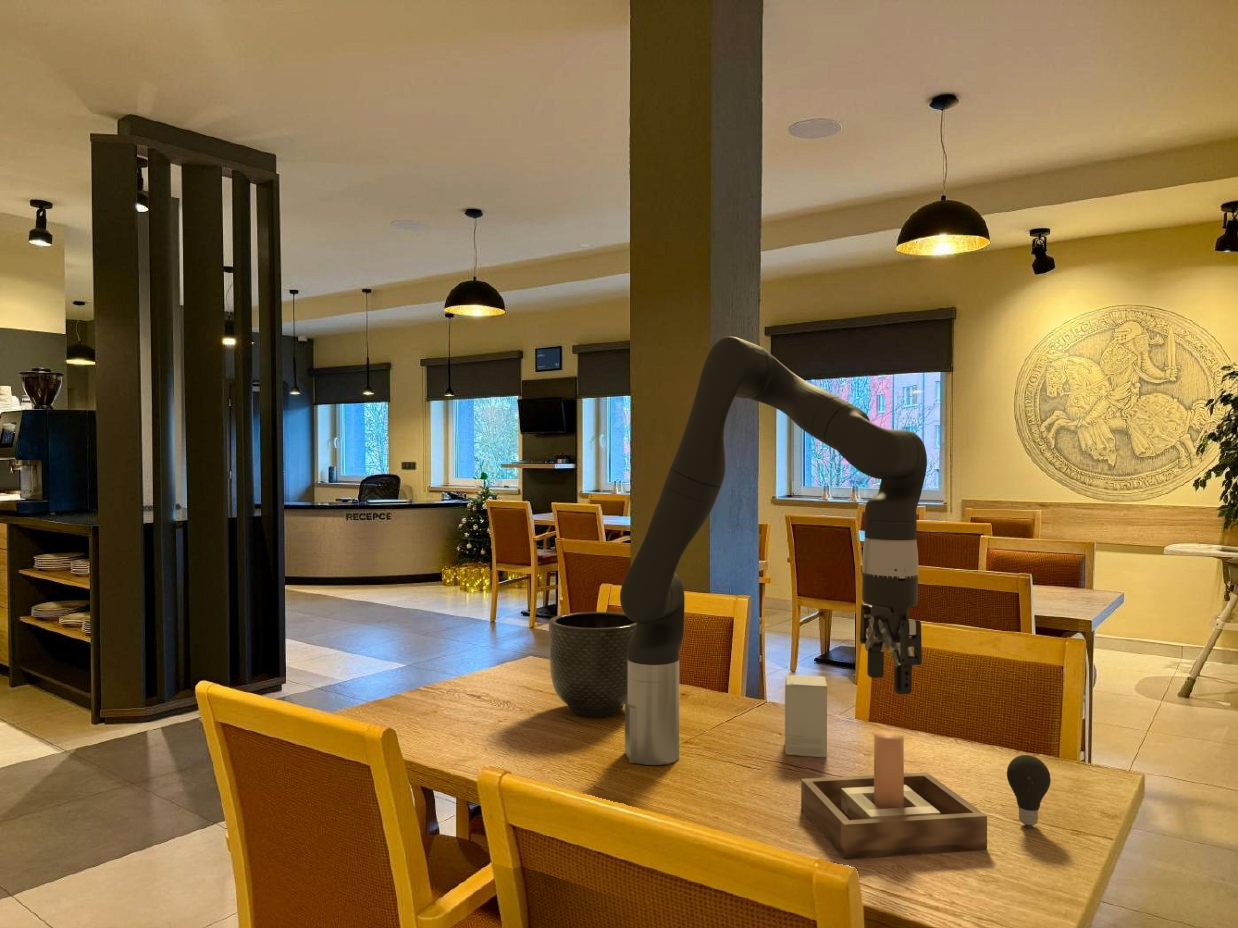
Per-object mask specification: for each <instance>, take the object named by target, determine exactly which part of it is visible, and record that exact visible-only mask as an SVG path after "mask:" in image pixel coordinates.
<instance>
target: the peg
mask: <svg viewBox="0 0 1238 928" xmlns="http://www.w3.org/2000/svg"><path fill="white" fill-rule="evenodd" d="M904 740H905V738H904V735H902V734H900V733H896V732H892V731H877V732H875V733H874V734H873V775H874V805H875V806H876V807H877V808H878V809H890V808H904V774H905V773H904V772H905V771H904V770H905V765H904V764H905V760H904V759H905V757H904V754H905V751H904V750H905V748H904Z"/></svg>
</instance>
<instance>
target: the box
mask: <svg viewBox="0 0 1238 928" xmlns="http://www.w3.org/2000/svg"><path fill="white" fill-rule="evenodd" d="M800 782H801V783H800V784H801V785H800V787H801V788H800V789H801V790H800V793H801V794H800V798H801V799H800V801H801V802H800V803H801V804H800V809H801V810H802V812H803V813H804V814H805V815H806V817H808V818H807V819H809V820H810V821H811V822H812V823H813V825H814V826H815V827H816V828H817V829H818V831H819V832H820V833H821V834H822V835H823V836H824V837H825V838H826V840H827V841H828V842H829V843H830V844H831V846H832V847H833V848H834V849H835V850H836V851H837V852H838V854H840V856H841V857H842V858H843V859H844V860H850V859H851V860H853V859H867V858H882V857H883V858H884V857H898V856H911V855H928V854H941V853H958V852H959V853H960V852H969V851H971V852H972V851H973V852H974V851H986V850H988V815H986V814H985V813H984V812H983V811H981V810H979V809H978V808H977V807H975V806H974V805H973V804H971V803H970V802H969V801H967V800H966V799H965V798H963V797H961V795H959V794H958V793H956V791H954V790H952V789H951V788H950V787H948V786H947V785H945V784H944V783H942V782H941V781H940V780H939V779H937V778H936V777H934V776H933V775H932V774H930V773H929V772H909V773H908V772H907V773H904V808H890V809H878V808H877V807H876V806H875V805H874V774H870V775H852V776H851V775H850V776H832V777H831V776H829V777H814V778H801V780H800Z"/></svg>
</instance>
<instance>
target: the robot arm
mask: <svg viewBox="0 0 1238 928" xmlns="http://www.w3.org/2000/svg"><path fill="white" fill-rule="evenodd" d="M735 397H736V398H739V399H749V400H751V401H752V400H753V401H755V402H759V403H761V404H764V405H768V406H770V407H773V408H775V409H776V410H779V411H780V412H782V413H783V414H785V415H787V417H789V418H790V420H792V422H793V423H794V424H796V425H797V426H798V427H799V428H800V429H801V430H803V431H804V432H805V433H807V434H808V435H810V436H811V437H813V438H814V439H816V440H818V441H819V442H821V443H823V444H825V445H826V446H828V447H830V448H831V449H833V450H835V451H837V453H838V454H840V456H841V457H842V458H843V459H844V460H845V461H847V462H848V464H850V465H851V467H853V468H855V470H856V471H858V472H860V473H862V474H864V475H865V476H868V477H870V478H872V479H876V480H877V479H878V480H880V482H879V483H880V484H879V488H878V492H877V494H876V495H875V496H873V497H871V498H869V499H868V500H867V502H866V504H865V508H864V539H863V549H862V558H861V559H862V561H861V562H862V565H861V567H862V571H861V572H862V573H861V600H862V602H863V603H861V605H860V628H859V634H860V635H859V641H860V644H861V645H864V649H865V651H866V652H867V663H866V664H867V665H866V666H867V670H866V671H867V673H866V674H867V676H868V677H869V678H871V679H874V678H875V679H880V678H883V677H884V675H885V672H884V669H885V667H884V664H885V661H884V659H885V652H883V651H884V650H885V647H886V650H887V651H888V652H890V653H891V655H892V659H893V663H894V667H893V691H894V693H896V694H897V695H910V694H911V693H912V690H913V689H912V681H913V680H912V679H913V678H912V677H913V676H912V675H913V674H912V673H913V672H912V670H913V667H915V666H921V665H922V664H923V663H922V662H923V654H922V653H923V651H922V648H923V646H922V622H921V620H920V619H910V617H909V611H908V610H909V608H912V607H915V606H917V605H918V600H919V599H918V598H919V552H918V544H917V541H918V540H917V532H918V530H917V520H918V518H917V517H918V516H917V509H918V505H919V502H920V498H921V495H922V490H923V488H924V484H925V483H924V482H925V479H926V474H927V467H928V455H927V449H926V446H925V444H924V442H923V440H922V439H921V437H920V436H919V435H918V434H916V433H915V432H913V431H911V430H906V429H904V430H903V429H892V428H890V429H888V428H884V427H881V426H879V425H877V424H875V423H873V422H872V421H871V420H870V418H869V415H868V414H867V413H866V412H864V411H863V410H862V409H860V408H859V407H858V406H856V405H853V404H852V403H850V402H848V401H846V400H845V399H842V398H840V397H839V396H837V395H835V394H833V393H831V392H828V391H827V390H825V389H823V388H821V387H818V386H817V385H815V384H813V383H810V382H809V381H807V380H805V379H803V378H801V377H800V376H798V375H797V374H795V373H794V372H793V371H791V370H790V369H789V368H788V367H787V366H785V365H784V364H783V362H781V361H779V360H778V359H777V358H776V357H775V356H774V355H772V354H771V353H770V352H769V351H767V350H766V349H765V348H764V347H763V346H760V345H757V344H756V343H752V342H750V341H747V340H746V339H742V338H740V337H736V336H731V335H729V336H724V337H723V338H720V339H719V340H718V341H716V342H715V343H714V345H713V346H712V347H711V348H710V350H709V352H708V354H707V356H706V358H705V360H704V363H703V367H702V370H701V374H700V376H699V381H698V385H697V388H696V393H695V396H694V399H693V402H692V406H691V410H690V414H689V416H688V418H687V422H686V425H685V427H684V431H683V434H682V437H681V440H680V443H679V444H678V445H679V446H678V448H677V451H676V453H675V456H674V457H673V460H672V462H671V465H670V468H669V471H668V473H667V476H666V478H665V481H664V483H663V486H662V489H661V492H660V496H659V498H658V501H657V503H656V506H655V509H654V510H653V514H652V517H651V520H650V522H649V525H648V528H647V531H646V533H645V537H644V539H643V541H642V543H641V545H640V548H639V550H638V552H637V554H636V556H635V558H634V560H633V562H632V564H631V566H630V567H629V569H628V571H627V574H626V575H625V577H624V580H623V582H622V585H621V588H620V591H619V592H620V593H619V601H620V606H621V609H622V611H623V614H625V615H626V616H627V617H628V619H630V620H631V621H633V622H635V623H637V624H636V629H635V632H634V634H633V636H632V638H631V639H630V641H629V643H628V646H627V699H625V704H624V754H625V755H626V758H627V760H628V762H629V764H639V765H645V766H646V765H647V766H661V765H669V764H672V763H675V762H676V761H678V760H679V759H680V748H681V747H680V651H681V646H682V644H683V639H684V630H685V627H684V626H685V604H686V602H685V601H686V600H685V590H684V589H685V588H684V585H683V581H682V579H681V578H680V577H679V575H678V574H677V573H676V571H677V569H678V565H679V563H680V560H681V557H683V554H684V552H685V550H686V549H687V548H688V546H689V544H690V543H691V542H692V541H693V539H694V537H696V535H697V534H698V532H699V531H700V530H701V528H702V527H703V525H704V524H705V522H706V520H707V519H708V518H709V515H710V513H711V512H712V510H713V507H714V506H715V503H716V501H717V498H718V496H719V494H720V492H721V491H720V490H721V489H722V485H723V482H724V478H725V476H726V454H725V453H726V452H725V451H726V450H725V438H724V437H725V434H724V433H725V426H726V421H727V418H728V415H729V412H730V409H731V407H732V404H733V402H734V399H735ZM912 649H913V650H912Z"/></svg>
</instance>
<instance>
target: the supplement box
mask: <svg viewBox="0 0 1238 928" xmlns="http://www.w3.org/2000/svg"><path fill="white" fill-rule="evenodd" d="M784 688H785V689H784V690H785V691H784V748H785V749H784V751H785V755H789V756H790V755H791V756H800V757H801V756H803V757H814V758H816V757H817V758H827V756H828V684H827V679H826V676H821V675H820V676H818V675H817V676H815V675H792V674H791V675H789V674H788V675H787V674H786V675H785V685H784Z"/></svg>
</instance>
